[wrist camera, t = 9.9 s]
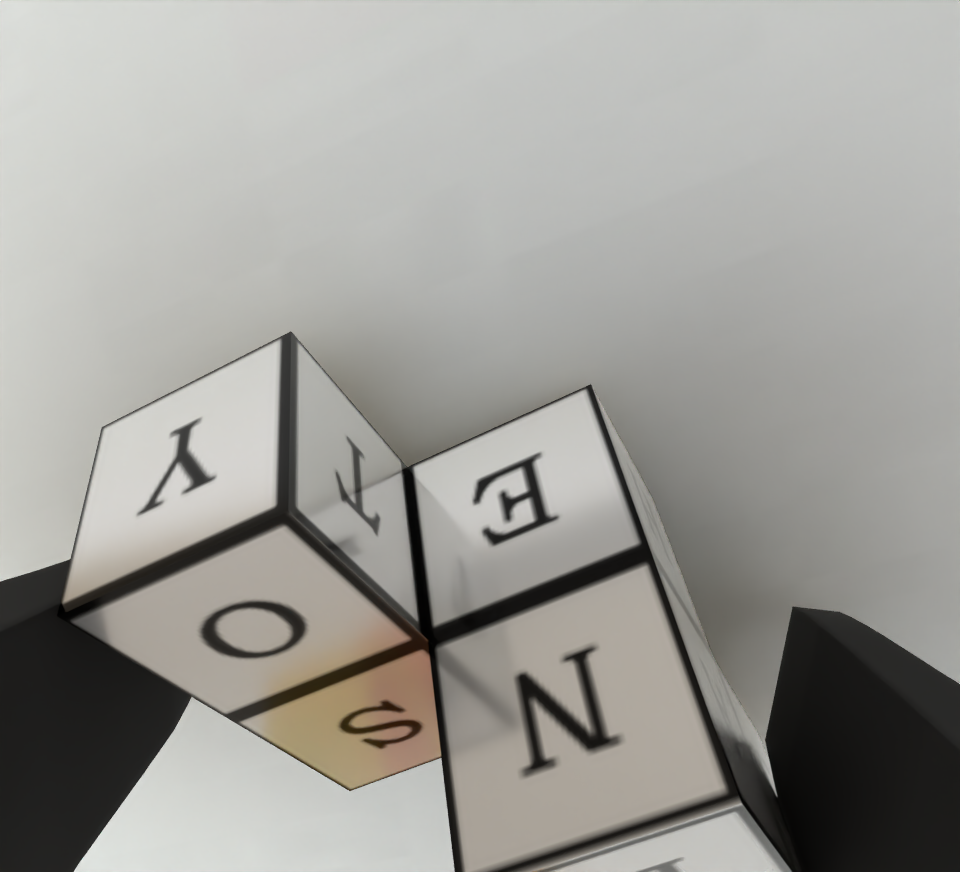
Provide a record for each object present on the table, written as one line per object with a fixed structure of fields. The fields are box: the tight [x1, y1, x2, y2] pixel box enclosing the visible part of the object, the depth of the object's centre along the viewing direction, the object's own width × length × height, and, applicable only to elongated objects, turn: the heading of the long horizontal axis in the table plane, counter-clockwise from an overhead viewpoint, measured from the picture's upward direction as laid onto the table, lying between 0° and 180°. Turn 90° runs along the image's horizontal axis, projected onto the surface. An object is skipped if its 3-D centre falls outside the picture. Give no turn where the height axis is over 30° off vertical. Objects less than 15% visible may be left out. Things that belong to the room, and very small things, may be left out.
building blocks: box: [57, 332, 804, 872], centre depth 11 cm, size 5×5×8 cm
